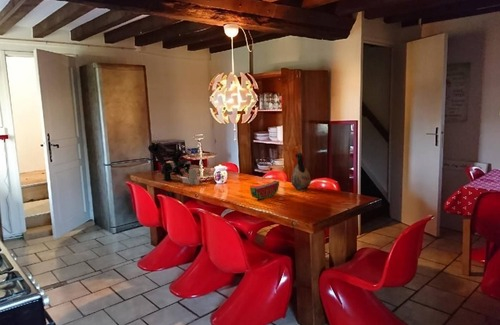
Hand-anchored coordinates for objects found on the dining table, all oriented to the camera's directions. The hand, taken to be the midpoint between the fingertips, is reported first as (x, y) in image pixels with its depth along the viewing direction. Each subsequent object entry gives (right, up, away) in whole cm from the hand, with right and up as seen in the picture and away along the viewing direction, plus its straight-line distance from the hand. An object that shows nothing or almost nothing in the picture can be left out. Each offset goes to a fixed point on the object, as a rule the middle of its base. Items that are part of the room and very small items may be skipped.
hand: (186, 175), depth 328 cm
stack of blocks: (-19, +1, +50) cm, 53 cm away
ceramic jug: (+96, -10, -38) cm, 104 cm away
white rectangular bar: (+4, -7, -1) cm, 8 cm away
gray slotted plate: (+6, -7, -3) cm, 10 cm away
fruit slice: (+67, -15, -54) cm, 88 cm away
